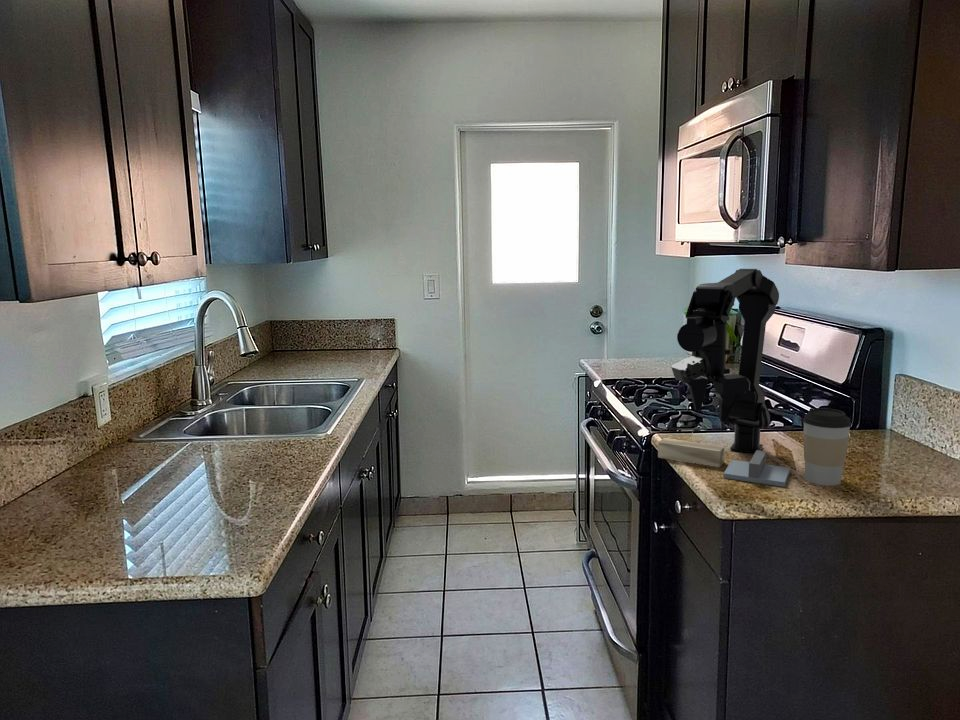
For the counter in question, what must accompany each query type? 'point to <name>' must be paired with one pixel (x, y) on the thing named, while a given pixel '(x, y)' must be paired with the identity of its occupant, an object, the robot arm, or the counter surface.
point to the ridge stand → (757, 471)
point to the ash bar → (691, 452)
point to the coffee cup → (825, 445)
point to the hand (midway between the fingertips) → (709, 415)
